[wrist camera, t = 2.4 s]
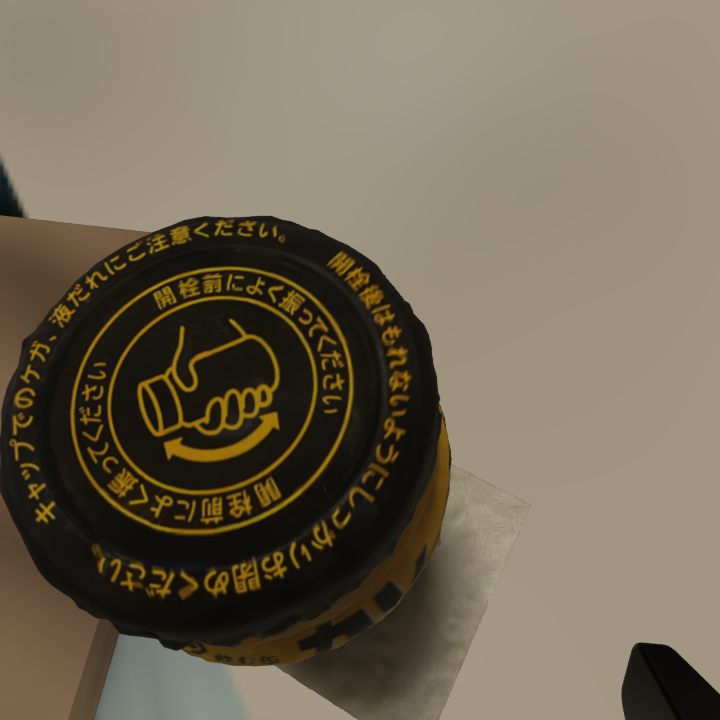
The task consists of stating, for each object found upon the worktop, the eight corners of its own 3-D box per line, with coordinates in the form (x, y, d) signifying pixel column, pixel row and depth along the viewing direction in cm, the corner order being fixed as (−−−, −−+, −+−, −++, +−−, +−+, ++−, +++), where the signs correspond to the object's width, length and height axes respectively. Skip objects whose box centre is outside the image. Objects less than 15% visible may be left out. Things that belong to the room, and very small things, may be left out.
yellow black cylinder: (288, 383, 20) (152, 88, 8) (530, 505, 18) (760, 329, 7) (159, 590, 17) (-261, 556, 6) (421, 758, 15) (493, 1148, 4)
